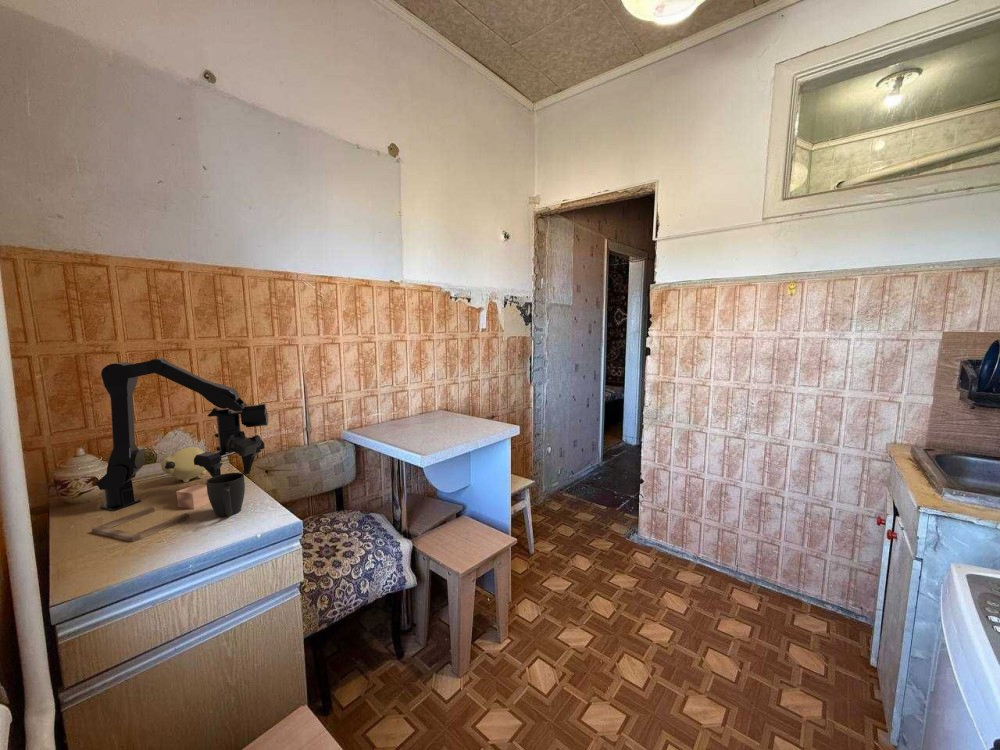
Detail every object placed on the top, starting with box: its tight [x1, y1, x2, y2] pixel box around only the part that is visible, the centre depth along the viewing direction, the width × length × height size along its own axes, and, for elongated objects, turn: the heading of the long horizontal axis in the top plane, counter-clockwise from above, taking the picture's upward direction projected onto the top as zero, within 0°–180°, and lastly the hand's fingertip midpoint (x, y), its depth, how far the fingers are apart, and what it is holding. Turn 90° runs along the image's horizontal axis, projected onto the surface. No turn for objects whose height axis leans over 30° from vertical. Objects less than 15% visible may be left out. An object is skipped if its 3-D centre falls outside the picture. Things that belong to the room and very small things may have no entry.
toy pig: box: [160, 446, 207, 483], centre depth 131 cm, size 10×12×11 cm
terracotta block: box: [176, 482, 211, 510], centre depth 113 cm, size 6×6×4 cm
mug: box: [205, 472, 246, 518], centre depth 105 cm, size 8×12×10 cm
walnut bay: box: [91, 506, 191, 543], centre depth 101 cm, size 15×12×1 cm
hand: (234, 479), depth 124 cm, fingers open, 9 cm apart
